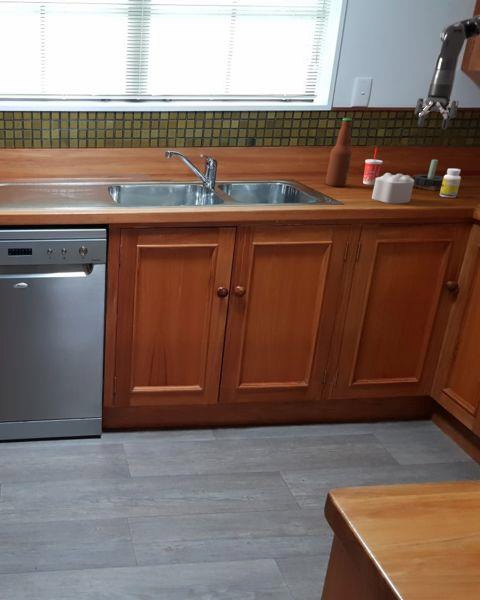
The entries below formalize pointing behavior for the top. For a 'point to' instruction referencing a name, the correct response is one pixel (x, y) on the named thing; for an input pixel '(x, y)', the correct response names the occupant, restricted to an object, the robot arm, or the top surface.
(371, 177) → the beverage cup
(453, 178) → the supplement bottle
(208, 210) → the top surface
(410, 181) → the white bumpy block
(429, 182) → the ring
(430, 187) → the stand
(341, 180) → the bottle
